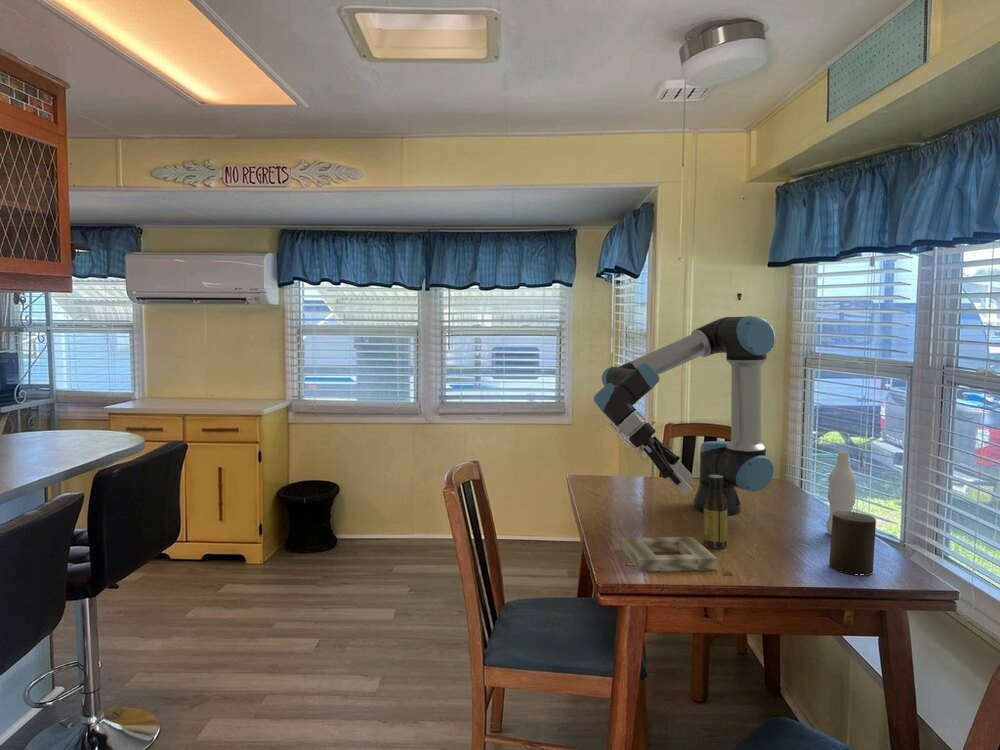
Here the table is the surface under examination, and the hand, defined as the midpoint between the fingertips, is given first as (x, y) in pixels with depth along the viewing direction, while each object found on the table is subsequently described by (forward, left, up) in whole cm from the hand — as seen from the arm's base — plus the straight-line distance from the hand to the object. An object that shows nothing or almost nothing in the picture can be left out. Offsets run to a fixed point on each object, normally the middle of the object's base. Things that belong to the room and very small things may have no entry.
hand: (689, 486), depth 171 cm
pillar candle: (-35, +20, -17) cm, 44 cm away
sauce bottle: (-7, +2, -17) cm, 18 cm away
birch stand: (+10, +11, -16) cm, 22 cm away
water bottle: (-48, -4, -17) cm, 51 cm away
